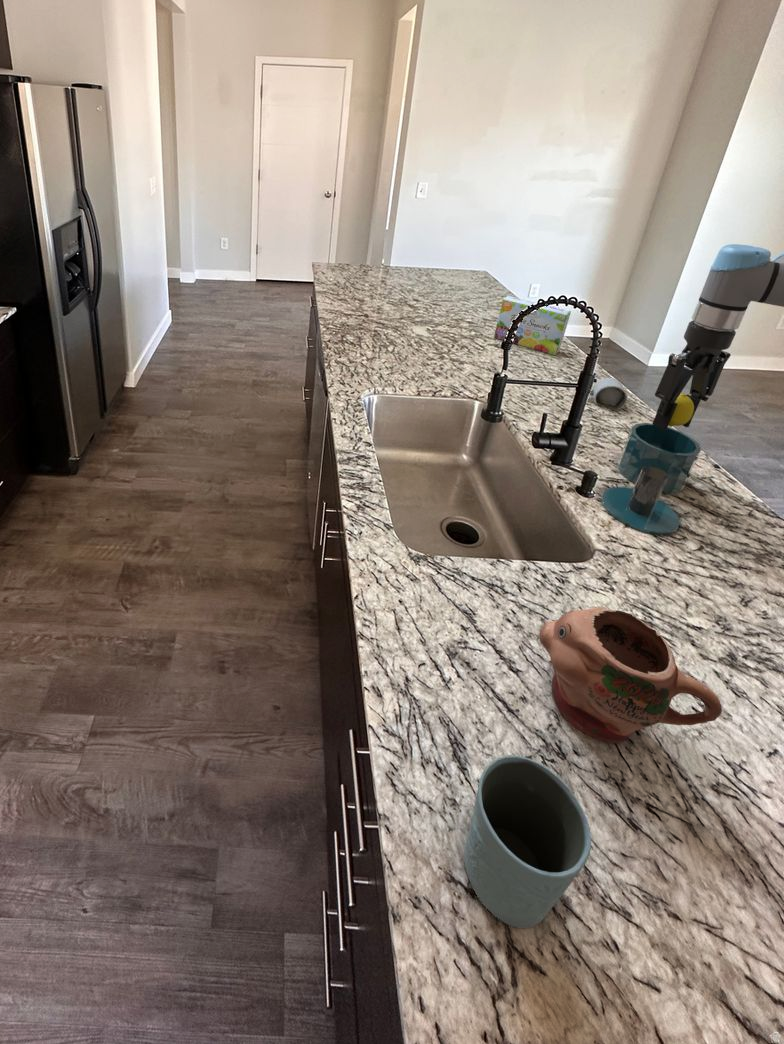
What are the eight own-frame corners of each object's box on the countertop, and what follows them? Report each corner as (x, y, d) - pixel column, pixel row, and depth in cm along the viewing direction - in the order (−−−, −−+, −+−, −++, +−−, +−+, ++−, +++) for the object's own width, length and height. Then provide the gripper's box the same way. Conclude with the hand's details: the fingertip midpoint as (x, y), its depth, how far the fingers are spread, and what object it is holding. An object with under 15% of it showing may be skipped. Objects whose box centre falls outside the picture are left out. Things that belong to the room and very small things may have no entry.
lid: (694, 530, 106) (714, 489, 101) (640, 542, 102) (659, 500, 98) (635, 487, 118) (651, 448, 113) (585, 496, 114) (599, 457, 110)
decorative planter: (683, 707, 74) (723, 639, 68) (699, 798, 64) (749, 728, 58) (526, 644, 82) (550, 577, 76) (520, 716, 72) (547, 646, 66)
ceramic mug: (617, 401, 153) (626, 377, 150) (622, 414, 146) (631, 389, 143) (576, 393, 157) (583, 370, 153) (579, 406, 150) (586, 382, 147)
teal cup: (463, 923, 53) (489, 863, 48) (450, 805, 62) (470, 744, 57) (571, 949, 52) (609, 890, 47) (542, 825, 61) (571, 764, 56)
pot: (696, 490, 117) (715, 451, 113) (651, 499, 114) (669, 459, 110) (646, 457, 128) (661, 420, 124) (604, 464, 125) (618, 426, 120)
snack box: (492, 338, 193) (502, 298, 186) (498, 334, 197) (507, 294, 190) (555, 356, 180) (567, 314, 174) (560, 351, 184) (572, 309, 178)
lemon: (649, 418, 118) (662, 386, 114) (674, 420, 118) (688, 388, 114) (664, 432, 113) (678, 399, 109) (691, 434, 113) (706, 401, 109)
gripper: (728, 315, 111) (686, 411, 121) (659, 321, 106) (621, 421, 116) (767, 329, 104) (719, 429, 114) (695, 335, 99) (652, 440, 110)
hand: (670, 425), depth 115 cm, fingers closed on lemon, 5 cm apart
